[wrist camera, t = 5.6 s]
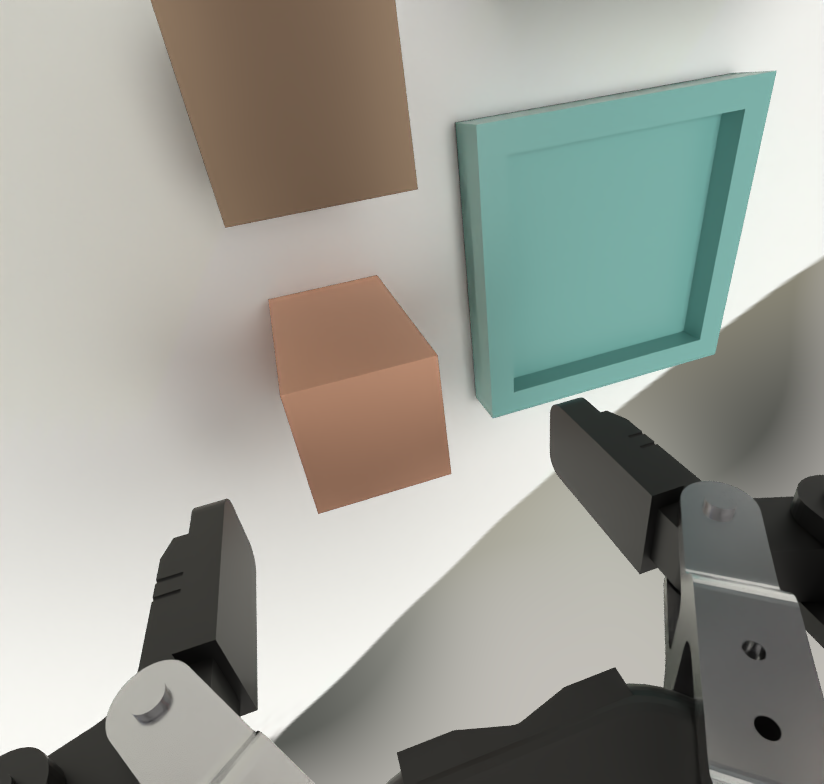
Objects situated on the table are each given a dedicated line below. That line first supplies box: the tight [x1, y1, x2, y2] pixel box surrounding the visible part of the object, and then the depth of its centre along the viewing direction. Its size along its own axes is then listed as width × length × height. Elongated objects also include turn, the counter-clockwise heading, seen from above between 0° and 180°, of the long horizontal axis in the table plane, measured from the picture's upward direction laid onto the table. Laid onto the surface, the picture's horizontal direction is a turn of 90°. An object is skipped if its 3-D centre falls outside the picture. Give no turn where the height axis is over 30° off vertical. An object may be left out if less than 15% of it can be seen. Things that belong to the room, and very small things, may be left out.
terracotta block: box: [269, 275, 451, 514], centre depth 16 cm, size 4×4×7 cm
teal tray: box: [455, 71, 776, 418], centre depth 20 cm, size 11×11×2 cm
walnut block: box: [151, 0, 418, 228], centre depth 12 cm, size 4×4×7 cm
